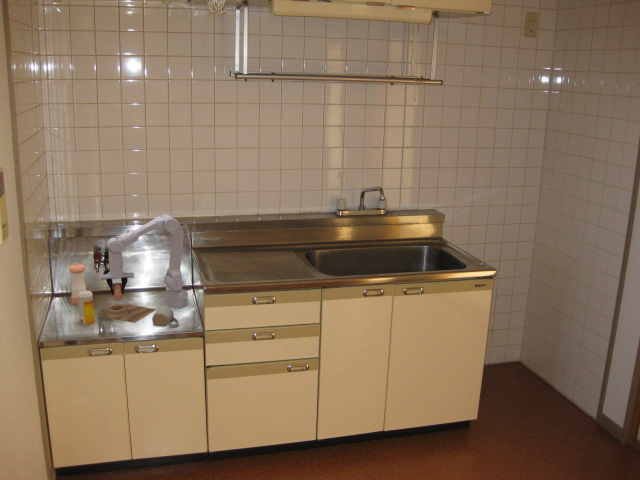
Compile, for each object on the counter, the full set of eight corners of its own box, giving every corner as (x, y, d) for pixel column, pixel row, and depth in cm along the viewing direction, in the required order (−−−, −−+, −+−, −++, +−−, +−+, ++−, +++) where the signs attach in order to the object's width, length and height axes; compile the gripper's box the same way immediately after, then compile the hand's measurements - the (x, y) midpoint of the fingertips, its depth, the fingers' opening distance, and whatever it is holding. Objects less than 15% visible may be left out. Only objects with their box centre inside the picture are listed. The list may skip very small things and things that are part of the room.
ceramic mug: (151, 328, 284) (150, 311, 282) (157, 320, 292) (156, 304, 290) (175, 330, 283) (175, 313, 281) (180, 322, 291) (180, 306, 289)
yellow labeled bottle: (97, 323, 288) (95, 291, 283) (88, 328, 282) (86, 295, 278) (86, 321, 289) (83, 289, 285) (77, 326, 284) (74, 293, 280)
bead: (131, 311, 298) (131, 305, 297) (119, 319, 290) (119, 312, 289) (115, 309, 301) (114, 302, 300) (102, 315, 293) (102, 309, 292)
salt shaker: (69, 301, 312) (66, 262, 307) (85, 298, 316) (82, 260, 311) (74, 305, 307) (71, 266, 301) (90, 302, 311) (87, 264, 306)
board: (156, 311, 302) (156, 309, 302) (135, 325, 287) (134, 322, 286) (121, 305, 308) (121, 303, 308) (98, 318, 293) (98, 316, 292)
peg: (123, 298, 295) (123, 283, 293) (118, 300, 292) (118, 285, 290) (117, 296, 296) (116, 282, 294) (112, 299, 293) (111, 284, 291)
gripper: (132, 261, 296) (133, 289, 299) (98, 263, 291) (100, 292, 294) (133, 265, 289) (135, 294, 293) (99, 268, 284) (101, 298, 288)
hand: (117, 294), depth 293 cm, fingers closed on peg, 4 cm apart
